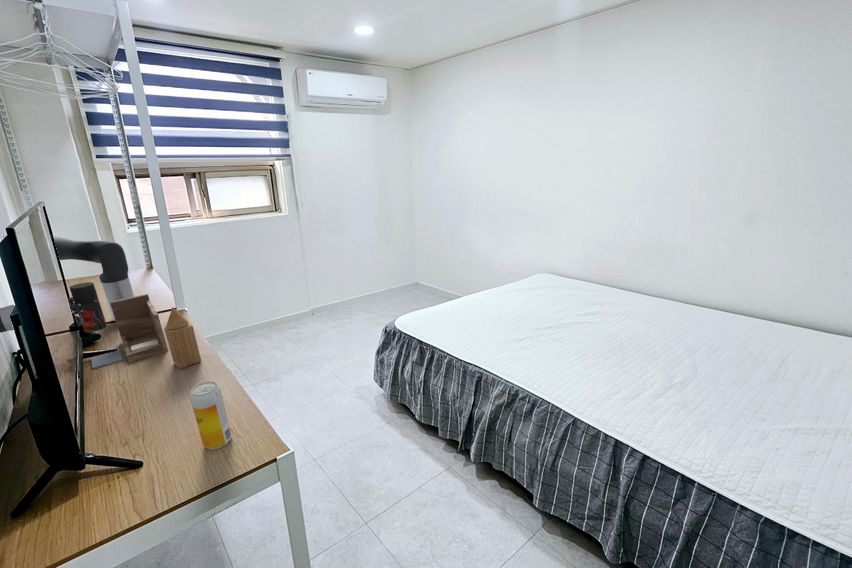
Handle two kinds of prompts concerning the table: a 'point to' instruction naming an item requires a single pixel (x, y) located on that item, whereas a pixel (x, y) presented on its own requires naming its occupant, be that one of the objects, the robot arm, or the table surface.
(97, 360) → the mat
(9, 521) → the table surface
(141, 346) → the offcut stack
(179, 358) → the decorative item
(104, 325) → the deodorant
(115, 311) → the box
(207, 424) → the beer can
